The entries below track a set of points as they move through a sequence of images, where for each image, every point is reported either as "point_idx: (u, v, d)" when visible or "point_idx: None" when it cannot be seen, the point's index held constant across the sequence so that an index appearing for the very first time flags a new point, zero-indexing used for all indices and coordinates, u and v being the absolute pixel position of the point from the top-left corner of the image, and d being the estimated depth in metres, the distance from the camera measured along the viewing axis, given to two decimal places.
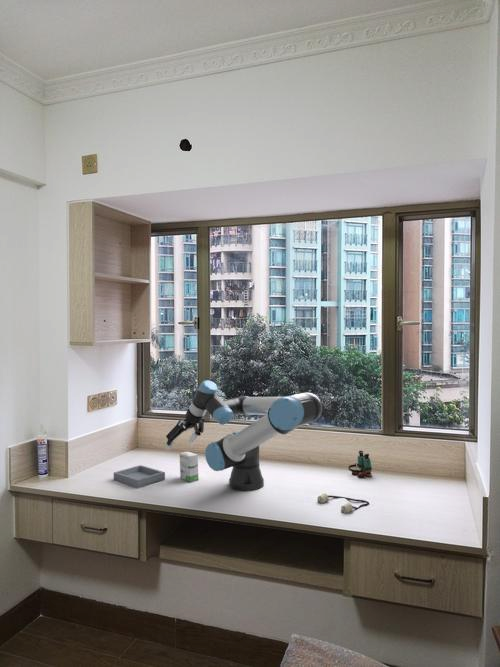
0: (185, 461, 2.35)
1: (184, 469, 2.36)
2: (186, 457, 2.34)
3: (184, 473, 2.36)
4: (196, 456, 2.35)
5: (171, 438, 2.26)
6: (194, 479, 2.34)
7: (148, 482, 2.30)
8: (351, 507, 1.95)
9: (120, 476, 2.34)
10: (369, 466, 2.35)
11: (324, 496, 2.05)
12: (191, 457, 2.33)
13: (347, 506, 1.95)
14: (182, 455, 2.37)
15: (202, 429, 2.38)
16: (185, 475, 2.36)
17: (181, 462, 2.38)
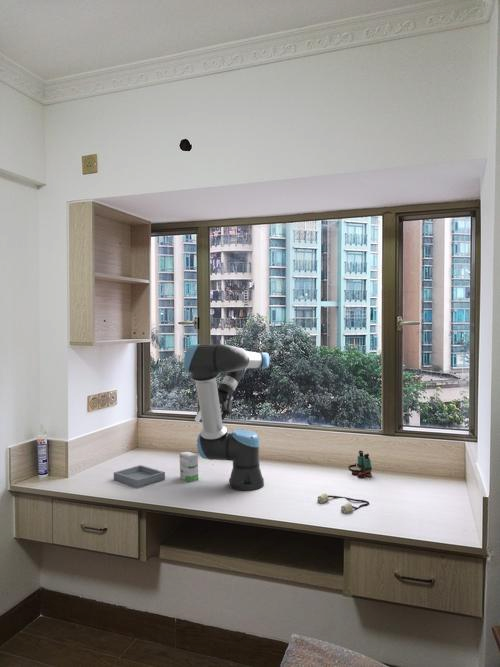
0: (185, 461, 2.35)
1: (184, 469, 2.36)
2: (186, 457, 2.34)
3: (184, 473, 2.36)
4: (196, 456, 2.35)
5: None
6: (194, 479, 2.34)
7: (148, 482, 2.30)
8: (351, 507, 1.95)
9: (120, 476, 2.34)
10: (369, 466, 2.35)
11: (324, 496, 2.05)
12: (191, 457, 2.33)
13: (347, 506, 1.95)
14: (182, 455, 2.37)
15: (227, 407, 2.44)
16: (185, 475, 2.36)
17: (181, 462, 2.38)
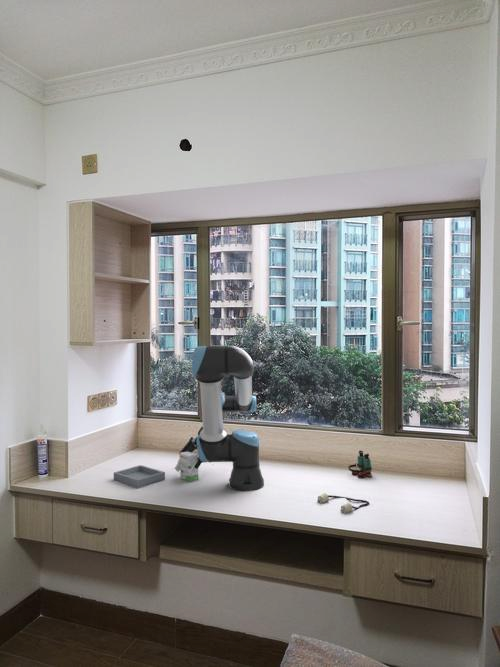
0: (185, 461, 2.35)
1: (184, 469, 2.36)
2: (186, 457, 2.34)
3: (184, 473, 2.36)
4: (196, 456, 2.35)
5: (181, 451, 2.43)
6: (194, 479, 2.34)
7: (148, 482, 2.30)
8: (350, 507, 1.95)
9: (120, 476, 2.34)
10: (369, 466, 2.35)
11: (324, 496, 2.06)
12: (191, 457, 2.33)
13: (347, 506, 1.95)
14: (182, 455, 2.37)
15: None
16: (185, 475, 2.36)
17: (181, 462, 2.38)
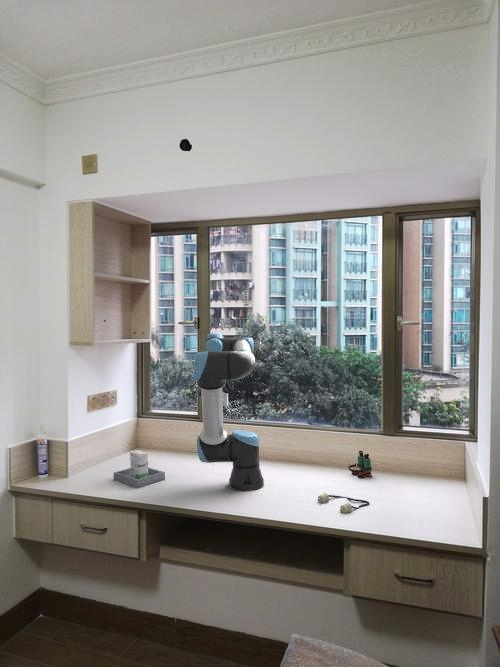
0: (135, 460, 2.35)
1: (134, 468, 2.36)
2: (136, 455, 2.34)
3: (134, 472, 2.37)
4: (146, 454, 2.35)
5: (226, 388, 2.63)
6: None
7: (148, 482, 2.30)
8: (350, 507, 1.95)
9: (120, 476, 2.34)
10: (369, 466, 2.35)
11: (324, 496, 2.06)
12: (140, 455, 2.34)
13: (346, 506, 1.95)
14: (132, 454, 2.37)
15: None
16: (135, 474, 2.36)
17: (131, 461, 2.38)
